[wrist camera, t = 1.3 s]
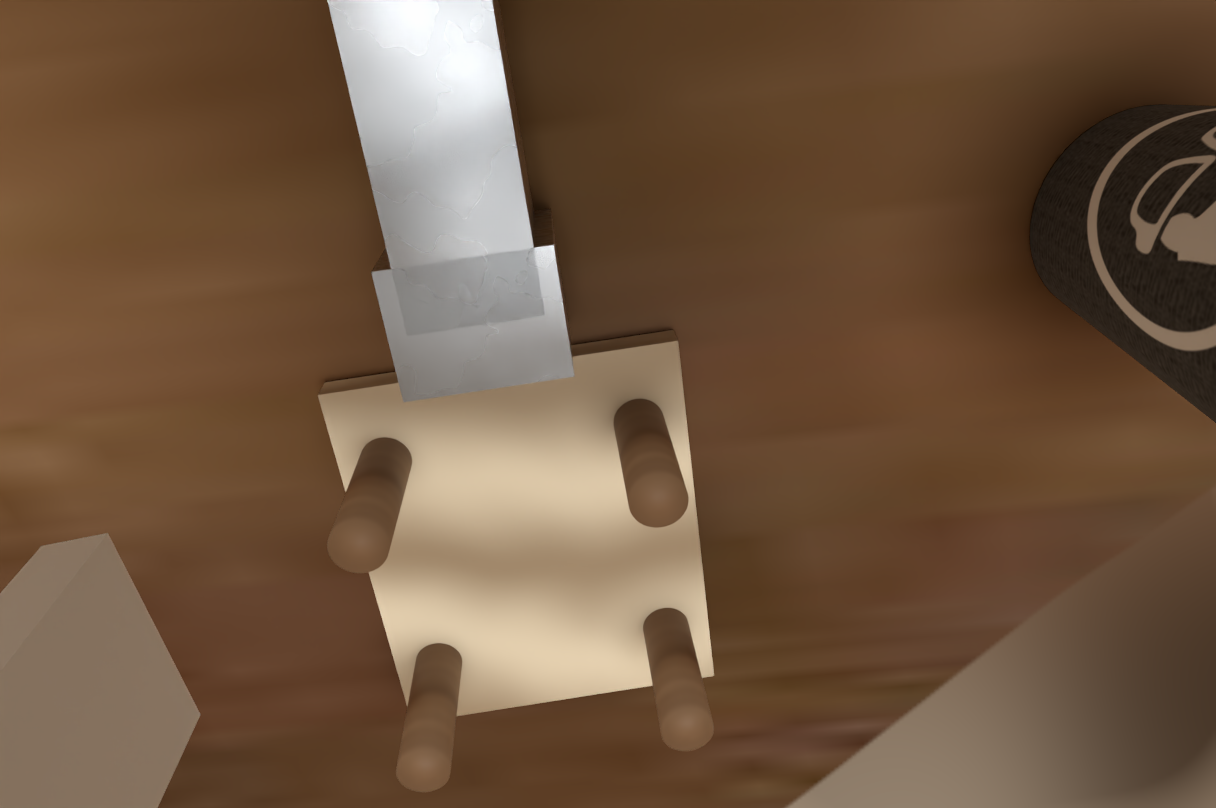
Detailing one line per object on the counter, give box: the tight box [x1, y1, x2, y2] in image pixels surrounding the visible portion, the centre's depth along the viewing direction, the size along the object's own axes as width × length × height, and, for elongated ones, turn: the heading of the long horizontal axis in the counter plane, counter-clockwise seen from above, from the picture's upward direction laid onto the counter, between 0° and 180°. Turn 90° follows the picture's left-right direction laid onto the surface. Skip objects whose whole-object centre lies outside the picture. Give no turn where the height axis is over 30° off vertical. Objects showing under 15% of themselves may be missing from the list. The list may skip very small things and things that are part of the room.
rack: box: [318, 330, 714, 792], centre depth 29 cm, size 13×11×6 cm
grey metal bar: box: [327, 0, 575, 402], centre depth 24 cm, size 14×5×4 cm, turn 8°
